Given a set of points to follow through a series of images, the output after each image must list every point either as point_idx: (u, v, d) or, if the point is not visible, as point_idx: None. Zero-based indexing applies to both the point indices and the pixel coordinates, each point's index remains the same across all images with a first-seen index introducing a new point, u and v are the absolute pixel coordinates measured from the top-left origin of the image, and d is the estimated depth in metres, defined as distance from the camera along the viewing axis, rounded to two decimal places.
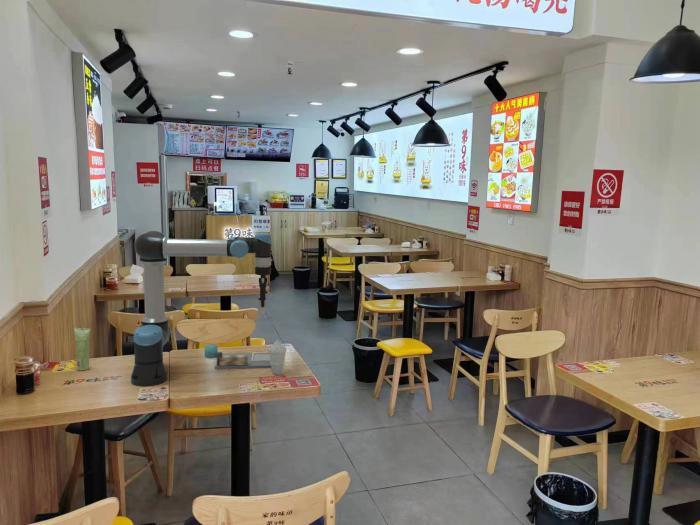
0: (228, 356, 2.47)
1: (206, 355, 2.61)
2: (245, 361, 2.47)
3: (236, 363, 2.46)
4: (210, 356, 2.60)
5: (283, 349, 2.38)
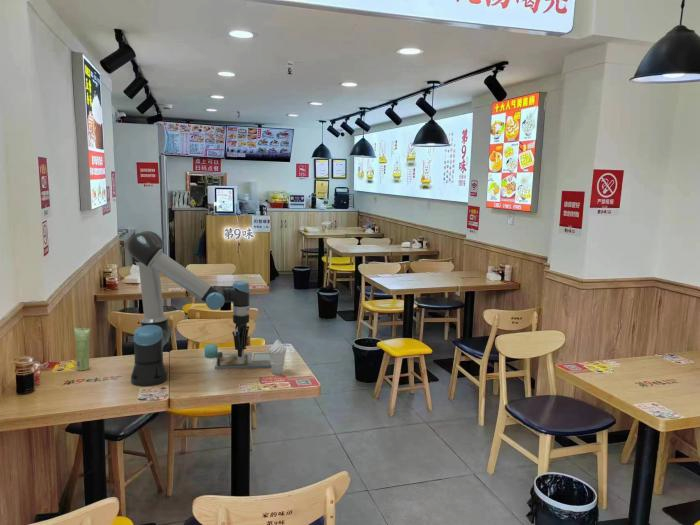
0: (228, 356, 2.47)
1: (206, 355, 2.61)
2: (245, 360, 2.48)
3: (236, 362, 2.47)
4: (210, 356, 2.60)
5: (283, 349, 2.38)
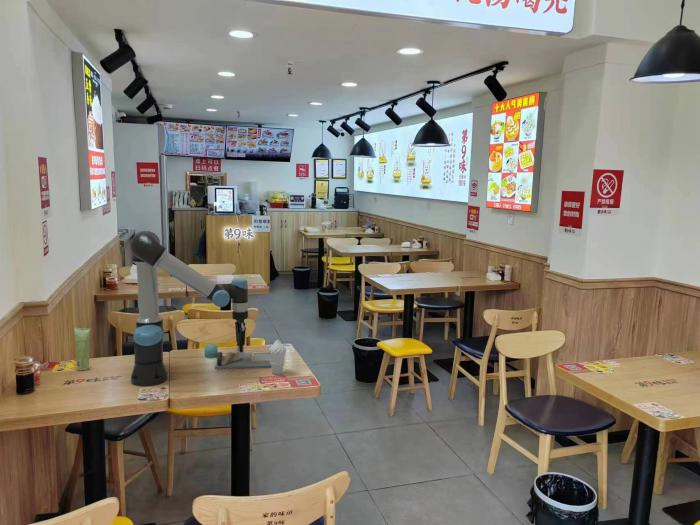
0: (226, 354, 2.49)
1: (206, 355, 2.61)
2: None
3: (234, 359, 2.52)
4: (210, 356, 2.60)
5: (283, 349, 2.38)
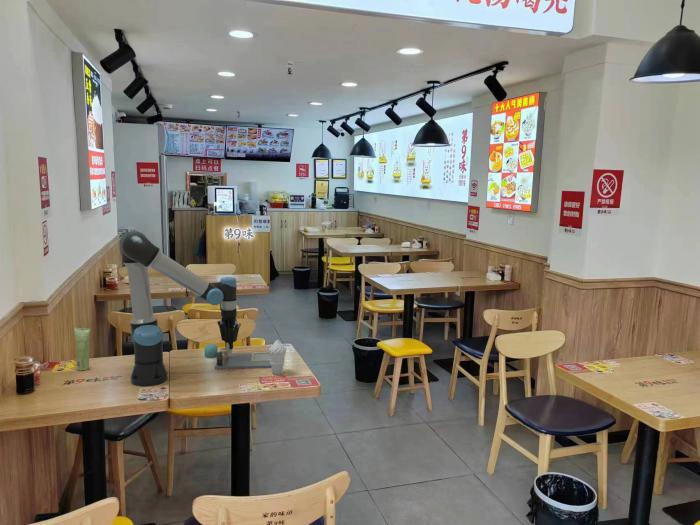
0: None
1: (206, 355, 2.61)
2: None
3: (225, 357, 2.54)
4: (210, 356, 2.60)
5: (283, 349, 2.38)
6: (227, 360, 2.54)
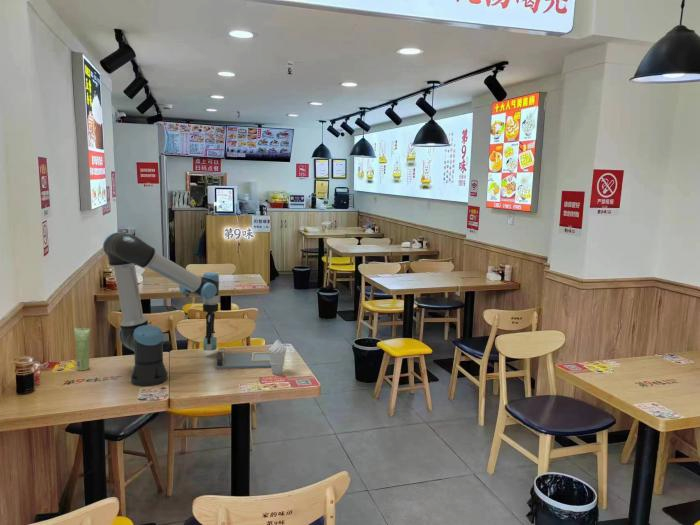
0: None
1: (205, 347, 2.60)
2: None
3: None
4: None
5: (283, 349, 2.38)
6: (227, 360, 2.54)
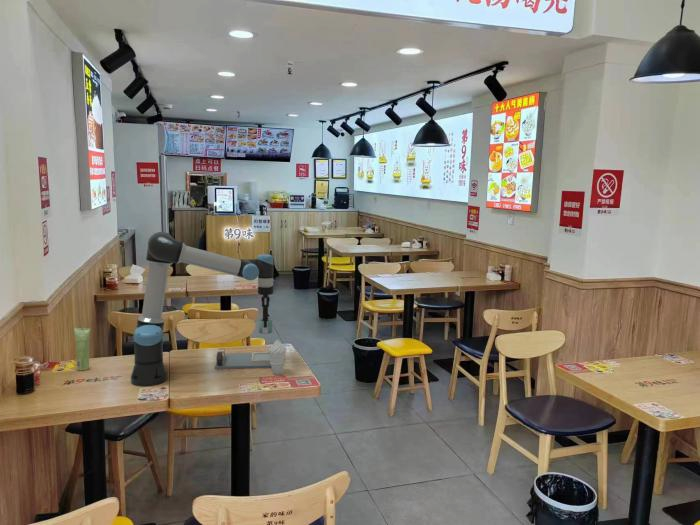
0: None
1: (261, 331, 2.55)
2: None
3: None
4: None
5: (283, 349, 2.38)
6: (227, 360, 2.54)
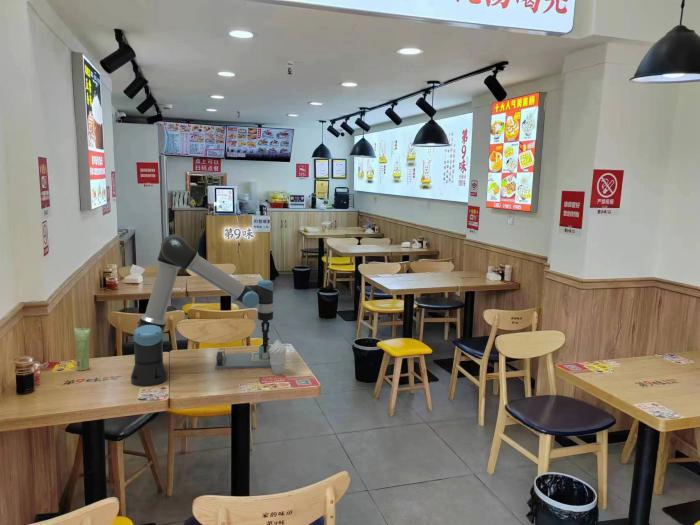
0: None
1: (261, 356, 2.57)
2: None
3: None
4: None
5: (283, 349, 2.38)
6: (227, 360, 2.54)
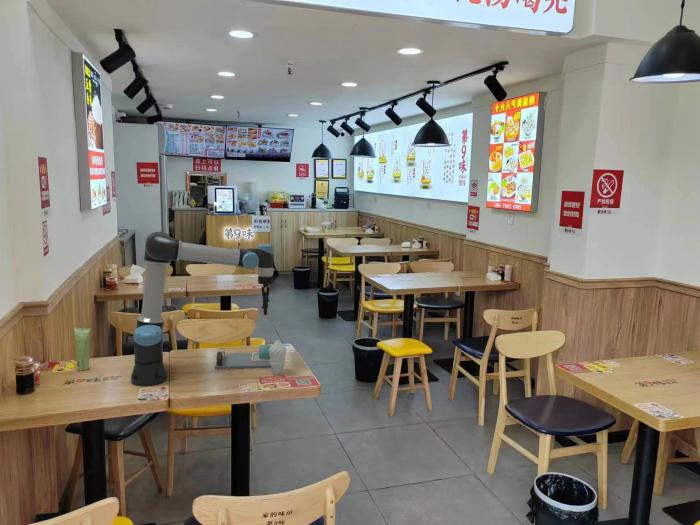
0: None
1: (261, 356, 2.57)
2: None
3: None
4: (265, 357, 2.56)
5: (283, 349, 2.38)
6: (227, 360, 2.54)
